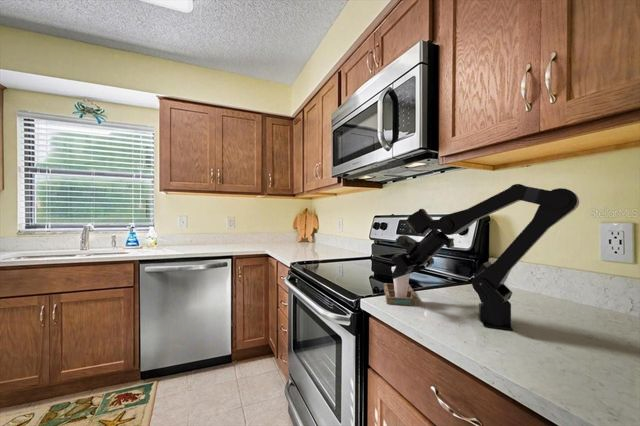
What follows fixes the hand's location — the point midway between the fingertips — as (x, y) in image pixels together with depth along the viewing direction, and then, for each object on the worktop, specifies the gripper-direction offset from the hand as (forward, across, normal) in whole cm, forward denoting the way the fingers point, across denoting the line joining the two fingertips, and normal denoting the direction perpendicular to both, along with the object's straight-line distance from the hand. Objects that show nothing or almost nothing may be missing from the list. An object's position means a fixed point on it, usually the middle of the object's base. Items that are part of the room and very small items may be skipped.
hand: (397, 276), depth 94 cm
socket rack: (+7, -3, +5) cm, 9 cm away
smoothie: (+4, 0, +6) cm, 7 cm away
